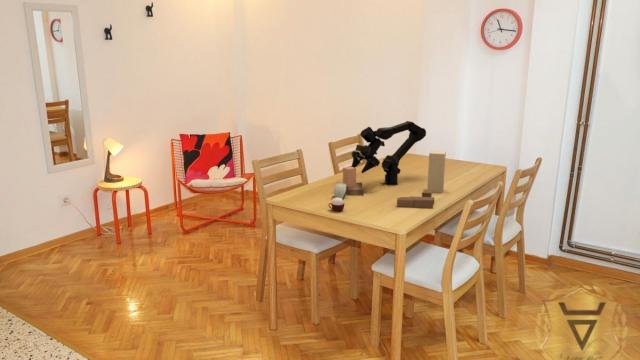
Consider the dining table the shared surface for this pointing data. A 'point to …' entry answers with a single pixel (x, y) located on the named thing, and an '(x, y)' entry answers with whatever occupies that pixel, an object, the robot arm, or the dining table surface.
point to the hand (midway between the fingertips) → (356, 170)
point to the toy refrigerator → (436, 171)
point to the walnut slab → (355, 190)
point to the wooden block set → (417, 201)
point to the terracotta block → (349, 176)
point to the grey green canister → (339, 190)
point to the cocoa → (338, 203)
